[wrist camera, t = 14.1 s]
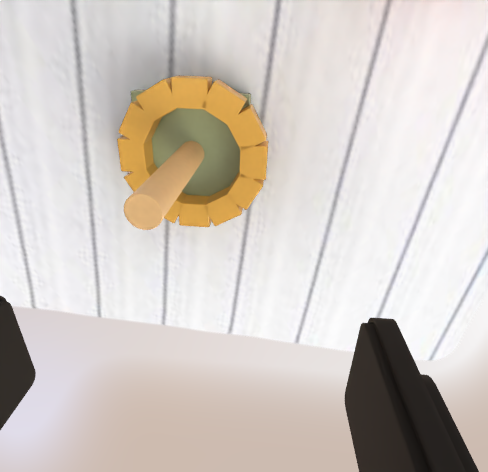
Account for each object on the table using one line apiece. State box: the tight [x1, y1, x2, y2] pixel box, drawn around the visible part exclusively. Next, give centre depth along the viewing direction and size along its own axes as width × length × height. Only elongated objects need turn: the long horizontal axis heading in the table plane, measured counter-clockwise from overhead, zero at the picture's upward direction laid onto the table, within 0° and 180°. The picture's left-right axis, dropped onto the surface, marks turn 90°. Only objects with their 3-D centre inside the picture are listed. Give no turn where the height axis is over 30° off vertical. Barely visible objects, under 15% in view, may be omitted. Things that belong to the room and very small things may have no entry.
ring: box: [117, 75, 268, 227], centre depth 27 cm, size 11×11×2 cm
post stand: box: [124, 90, 251, 230], centre depth 23 cm, size 9×9×13 cm
